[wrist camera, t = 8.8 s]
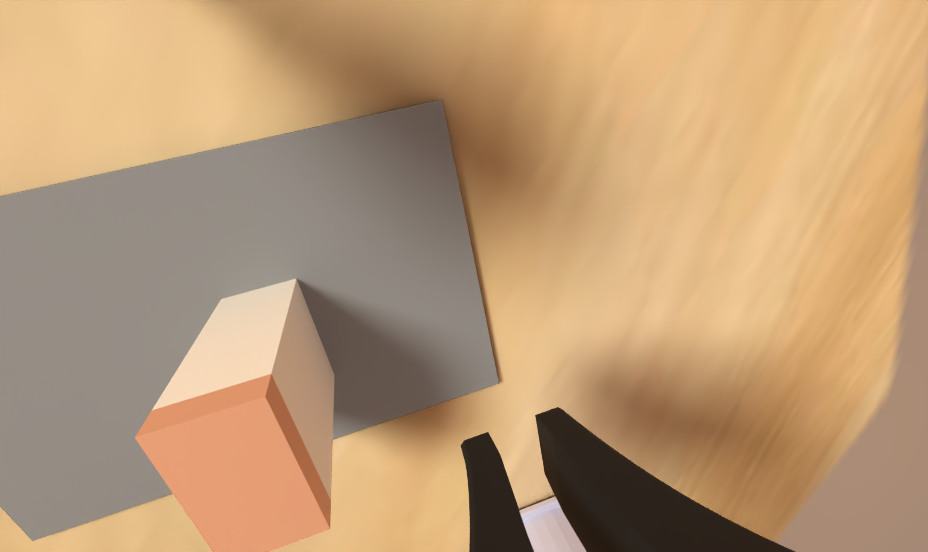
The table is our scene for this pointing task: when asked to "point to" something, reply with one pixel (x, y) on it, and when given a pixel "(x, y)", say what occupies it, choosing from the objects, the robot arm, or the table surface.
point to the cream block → (249, 424)
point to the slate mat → (227, 295)
